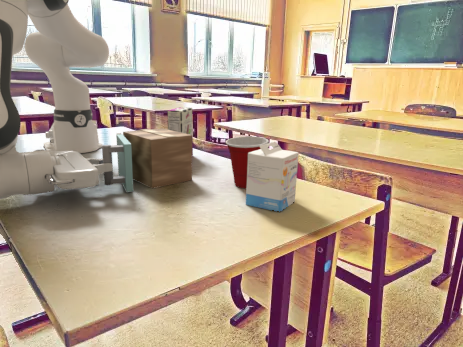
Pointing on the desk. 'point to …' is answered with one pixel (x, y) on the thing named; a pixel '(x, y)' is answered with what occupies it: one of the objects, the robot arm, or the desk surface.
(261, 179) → the ink box
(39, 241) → the desk surface
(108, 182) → the flap
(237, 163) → the plastic cup
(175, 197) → the desk surface
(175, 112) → the candy bar box
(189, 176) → the carton
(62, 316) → the desk surface
